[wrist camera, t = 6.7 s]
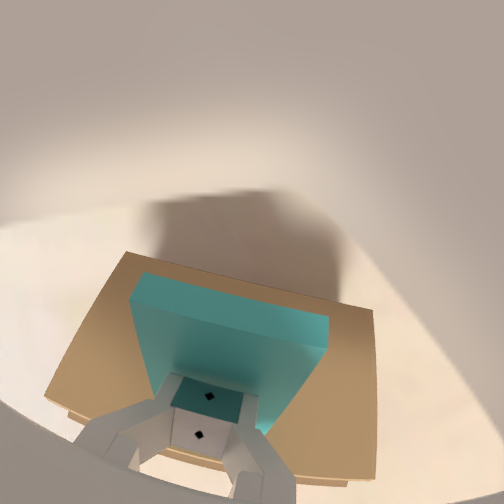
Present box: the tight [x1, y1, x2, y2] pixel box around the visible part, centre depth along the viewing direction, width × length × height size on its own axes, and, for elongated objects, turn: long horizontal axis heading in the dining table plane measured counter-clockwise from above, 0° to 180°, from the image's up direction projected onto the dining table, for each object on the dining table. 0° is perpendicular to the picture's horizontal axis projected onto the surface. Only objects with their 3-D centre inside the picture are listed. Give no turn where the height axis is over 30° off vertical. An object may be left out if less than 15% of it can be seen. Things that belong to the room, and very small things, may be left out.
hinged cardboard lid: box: [44, 251, 377, 481], centre depth 14 cm, size 17×11×10 cm, turn 78°
